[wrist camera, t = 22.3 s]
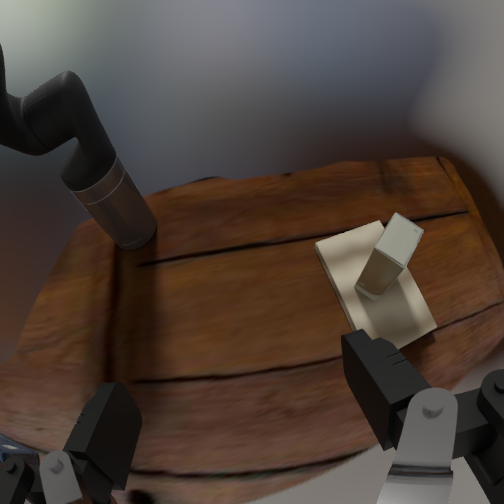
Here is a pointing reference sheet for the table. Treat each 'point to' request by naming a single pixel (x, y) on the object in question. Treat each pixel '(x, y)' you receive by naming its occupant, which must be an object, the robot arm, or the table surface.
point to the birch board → (363, 308)
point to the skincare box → (389, 257)
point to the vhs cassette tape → (16, 451)
